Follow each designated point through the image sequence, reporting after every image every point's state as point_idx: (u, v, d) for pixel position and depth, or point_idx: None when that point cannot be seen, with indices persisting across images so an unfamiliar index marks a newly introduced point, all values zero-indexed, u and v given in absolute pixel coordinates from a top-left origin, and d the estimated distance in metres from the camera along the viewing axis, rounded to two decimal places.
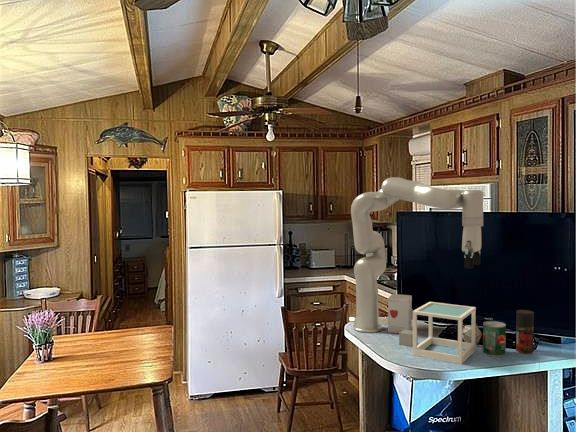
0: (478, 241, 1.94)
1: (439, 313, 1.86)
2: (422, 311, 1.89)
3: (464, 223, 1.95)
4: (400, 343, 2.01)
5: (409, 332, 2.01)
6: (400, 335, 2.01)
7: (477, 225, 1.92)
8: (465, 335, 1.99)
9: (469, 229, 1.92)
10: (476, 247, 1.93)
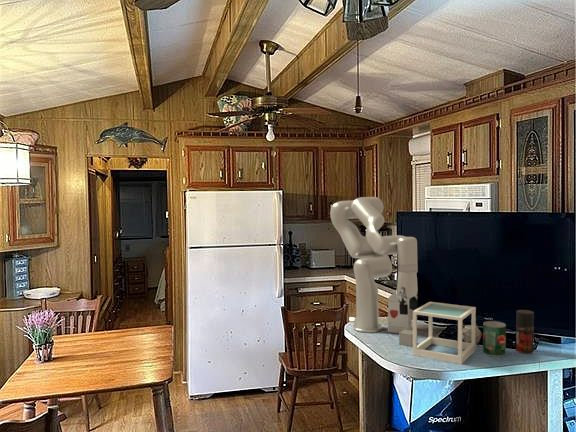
0: (413, 287, 1.99)
1: (439, 313, 1.86)
2: (422, 311, 1.89)
3: (399, 270, 1.99)
4: (400, 343, 2.01)
5: (409, 332, 2.01)
6: (400, 335, 2.01)
7: (411, 272, 1.97)
8: (465, 335, 1.99)
9: (403, 276, 1.97)
10: (411, 294, 1.98)
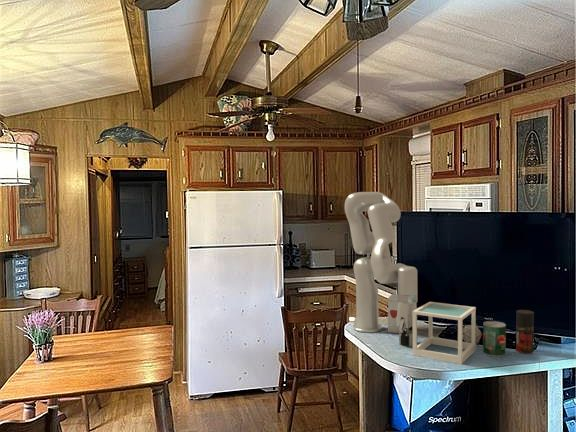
0: (412, 317, 2.00)
1: (439, 313, 1.86)
2: (422, 311, 1.89)
3: (399, 299, 2.00)
4: (400, 343, 2.01)
5: (409, 332, 2.01)
6: (400, 335, 2.01)
7: (411, 302, 1.98)
8: (465, 335, 1.99)
9: (403, 306, 1.98)
10: (410, 324, 1.99)
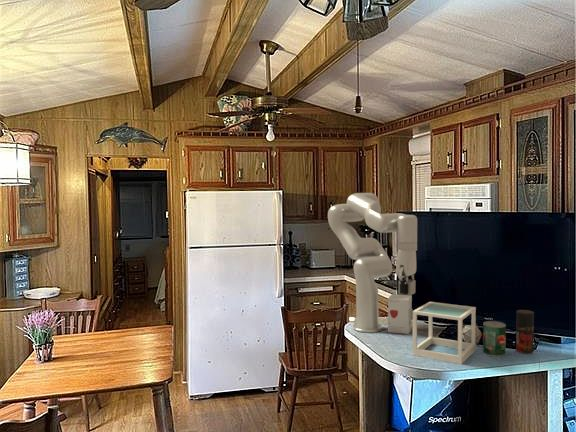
0: (412, 265, 1.99)
1: (439, 313, 1.86)
2: (422, 311, 1.89)
3: (398, 247, 1.99)
4: (399, 291, 2.00)
5: (408, 280, 2.00)
6: None
7: (410, 250, 1.96)
8: (465, 335, 1.99)
9: (402, 253, 1.96)
10: (410, 272, 1.98)
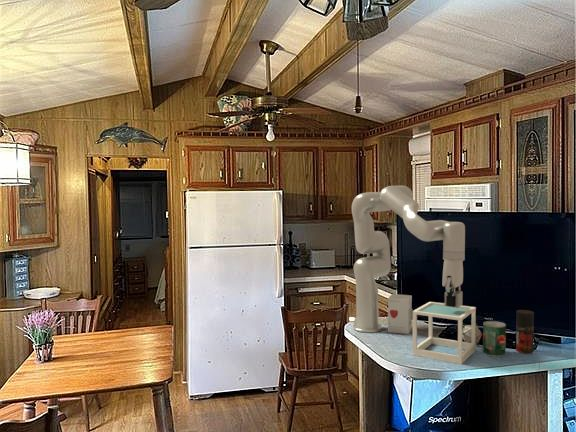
0: (459, 276, 1.86)
1: (439, 313, 1.86)
2: (422, 311, 1.89)
3: (445, 257, 1.86)
4: None
5: (455, 292, 1.87)
6: None
7: (458, 260, 1.84)
8: (465, 335, 1.99)
9: (450, 263, 1.84)
10: (457, 283, 1.85)
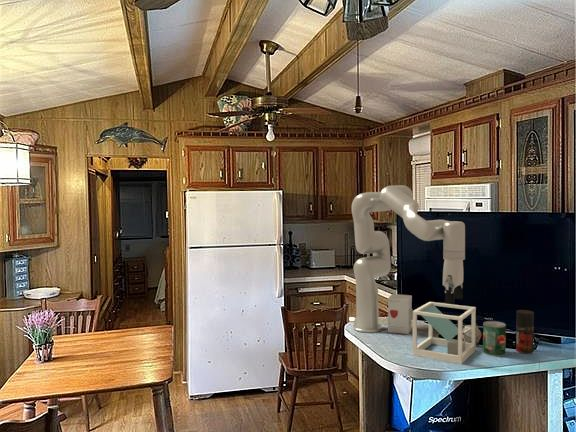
0: (459, 275, 1.85)
1: (435, 324, 1.87)
2: None
3: (445, 256, 1.86)
4: (449, 344, 1.88)
5: None
6: None
7: (458, 259, 1.83)
8: (465, 335, 1.99)
9: (450, 263, 1.83)
10: (458, 282, 1.85)
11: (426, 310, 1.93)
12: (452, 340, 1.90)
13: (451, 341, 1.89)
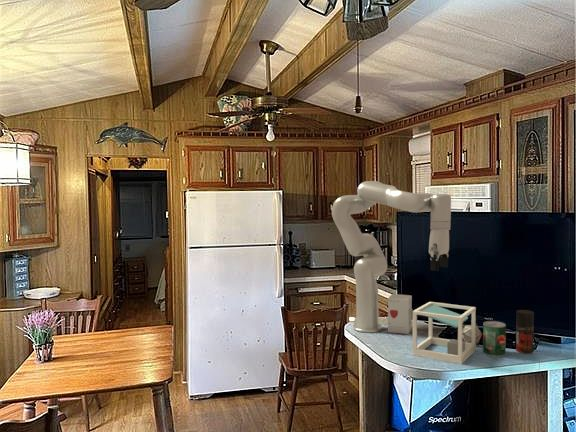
0: (445, 244, 1.99)
1: None
2: (422, 311, 1.89)
3: (431, 226, 1.99)
4: (449, 344, 1.88)
5: None
6: None
7: (444, 229, 1.97)
8: (465, 335, 1.99)
9: (436, 232, 1.97)
10: (443, 250, 1.98)
11: (426, 309, 1.93)
12: (452, 340, 1.90)
13: (451, 341, 1.89)
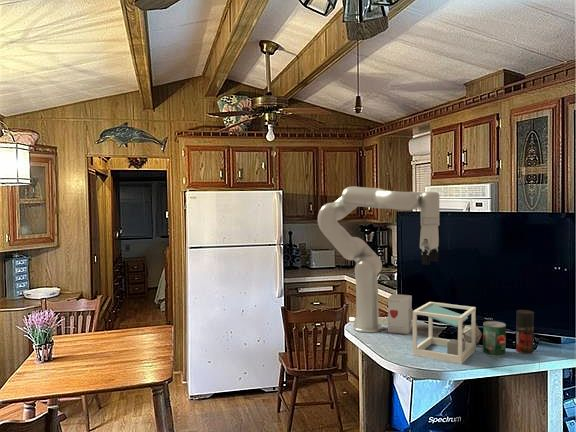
0: (435, 239, 2.10)
1: None
2: (422, 311, 1.89)
3: (422, 223, 2.10)
4: (449, 344, 1.88)
5: None
6: None
7: (433, 224, 2.08)
8: (465, 335, 1.99)
9: (426, 228, 2.08)
10: (433, 245, 2.09)
11: (426, 309, 1.93)
12: (452, 340, 1.90)
13: (451, 341, 1.89)
